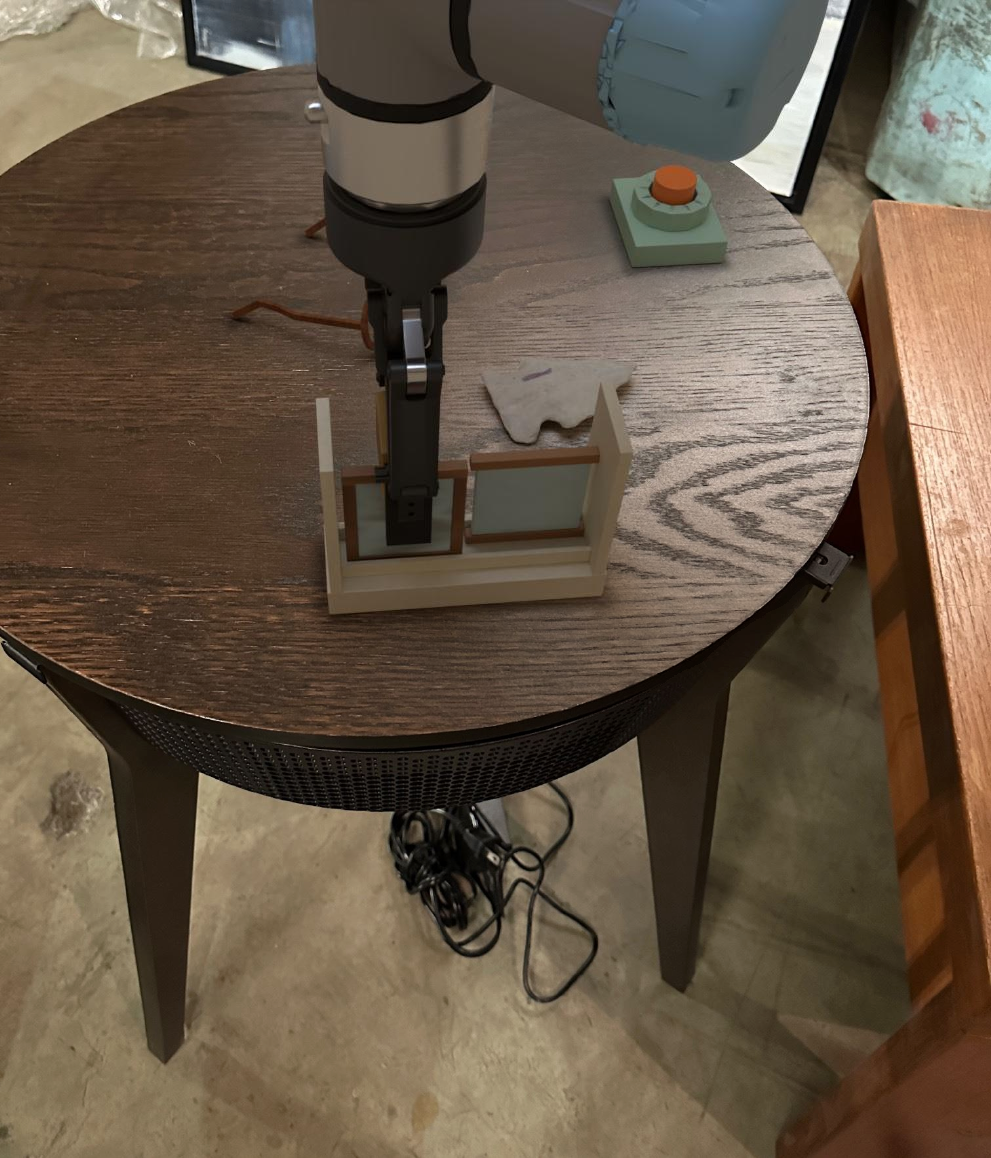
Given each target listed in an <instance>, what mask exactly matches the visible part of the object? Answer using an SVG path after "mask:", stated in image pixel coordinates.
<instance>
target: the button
mask: <svg viewBox="0 0 991 1158" xmlns="http://www.w3.org/2000/svg"><path fill="white" fill-rule="evenodd" d="M656 170H657V171H656V173H655V177H654V181H653V186H652V191H651V194H652V197H653V198H654V199H656V200H657V201H658V202H660V203H664V204H667V205H671V206H677V205H686V204H688V203H690V202H691V201H692V199H693V196H694V192H695V188H696V183H697V176H696V175H697V174H696V173H695V172H694V171H693V170H691V169H690V168H688V167H685V166H682V165H675V164H673V165H671V164H670V165H664V166H662V167H660V168H658V169H656Z"/></svg>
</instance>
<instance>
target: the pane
mask: <svg viewBox="0 0 991 1158" xmlns="http://www.w3.org/2000/svg"><path fill="white" fill-rule="evenodd" d="M374 394H375V395H374V397H375V430H376V431H375V432H376V435H375V436H376V437H375V438H376V446H377V459H378V464H374V465H358V466H343V467H340V478H341V480H340V481H341V495H342V509H343V522H344V526H345V541H346V556H347V562H352V561H367V560H382V559H397V558H412V557H427V556H442V555H457V554H462V549H463V536H464V521H465V514H466V506H467V505H466V504H467V490H468V476H469V466H468V460H467V459H458V460H457V459H455V460H438V481H439V490H438V495H437V497H433V502H432V533H431V543H427V544H411V545H396V546H387V544H386V525H385V483H377V484H376V483H375V470H374V467H381V466H384V463H388V455H387V427H386V399H385V390H382V391H375V393H374Z"/></svg>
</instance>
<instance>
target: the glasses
mask: <svg viewBox="0 0 991 1158" xmlns="http://www.w3.org/2000/svg"><path fill="white" fill-rule="evenodd" d="M324 227H325V228H326V224H325V217H323V218H322V219H321V220H319V221H318V222H316V223H315V224H314V225H312V226H310V227H309V228H307V229H306V230H304V233H305V234H306V236H307V237H308V238H310V237H311V236H313V235H314V234H316V233H317V232H318V231H320V230H322V228H324ZM260 308H263V309H266V310H268V311H269V310H270V311H272V312H276V313H278V314H281V315H283V316H285V317H287V318H288V319H291V320H293V321H296V322H301V323H302V322H303V323H308V324H316V325H322V326H329V327H336V328H341V329H342V328H343V329H347V330H348V329H349V330H356V331H360V333H361V334H360V335H361V338H362V342H363V344H364V346H365V348H366V349H368V351H373V352H374V349H373V344H374V340H372V337H371V334H370V330H369V319H368V311H367V299H366V300H365V301H364V304H363V307H362V310H361V314H360V320H355V319H348V318H341V317H333V316H327V315H321V314H313V313H308V312H307V313H306V312H300V311H295V310H293V309H291V308H288V307H286V306H284V305H282V304H280V303H278V302H274V301H271V300H266V299H262V298H257V299H255V300H253V301H251V302H249V303H247V304H245V305H243V306H241V307H239V308H237V309H235V310H233V311H232V312H231V315H232V316H233V318H234V319H235V320H237V319H239V318H241V317H243V316H245V315H247V314H250V313H251V312H254V311H255V310H258V309H260Z"/></svg>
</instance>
